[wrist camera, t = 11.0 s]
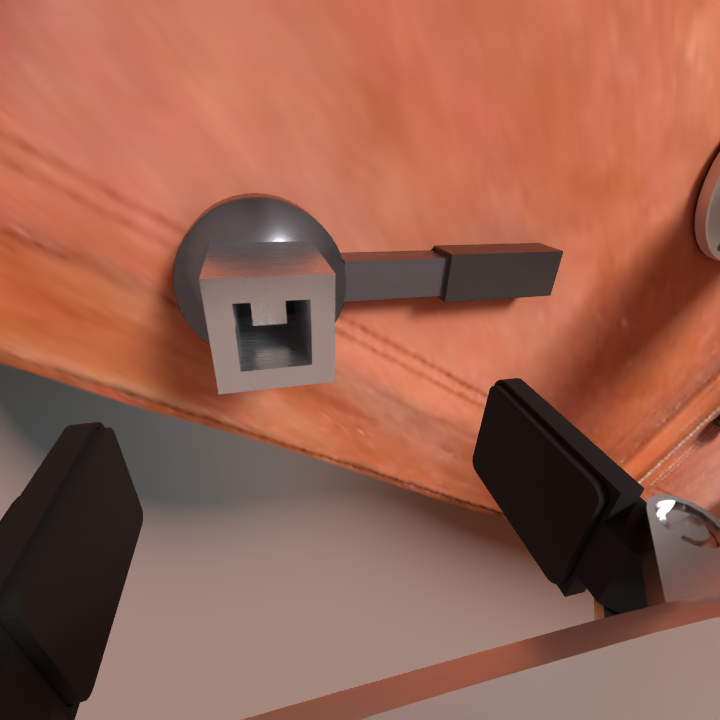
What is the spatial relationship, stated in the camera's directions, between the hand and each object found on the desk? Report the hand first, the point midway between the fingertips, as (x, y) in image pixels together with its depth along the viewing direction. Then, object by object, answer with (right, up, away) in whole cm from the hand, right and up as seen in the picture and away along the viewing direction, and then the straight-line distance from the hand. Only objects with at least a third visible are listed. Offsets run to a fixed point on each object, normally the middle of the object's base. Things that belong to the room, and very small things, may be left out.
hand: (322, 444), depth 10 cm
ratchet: (+2, +8, +15) cm, 17 cm away
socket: (-4, +6, +11) cm, 13 cm away
